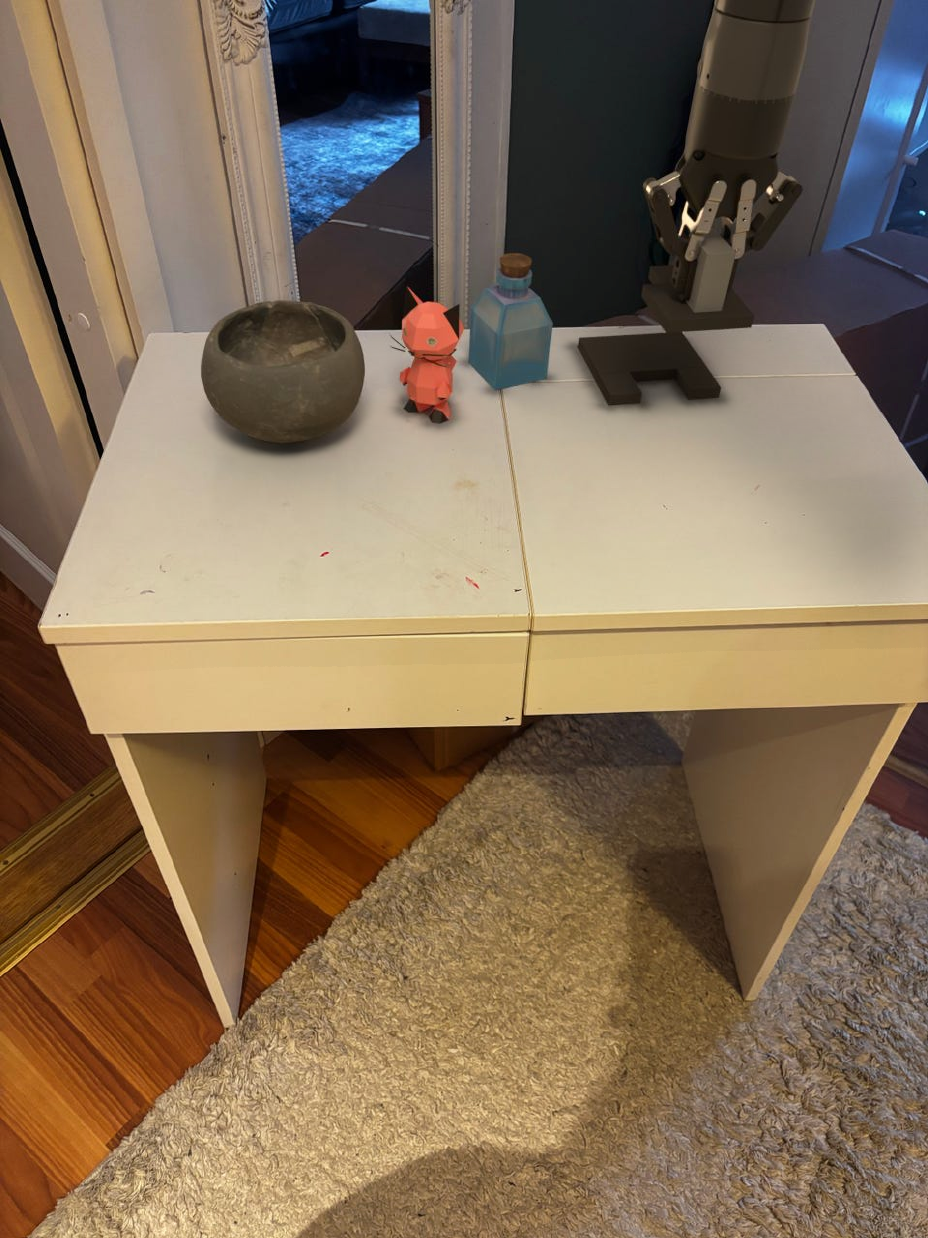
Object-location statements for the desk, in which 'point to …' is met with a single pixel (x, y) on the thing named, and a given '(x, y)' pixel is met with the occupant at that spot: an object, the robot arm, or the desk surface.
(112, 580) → the desk surface
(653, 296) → the tab pad
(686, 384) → the notch pad
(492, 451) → the desk surface
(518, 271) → the perfume bottle
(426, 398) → the cat figurine
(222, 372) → the bowl
